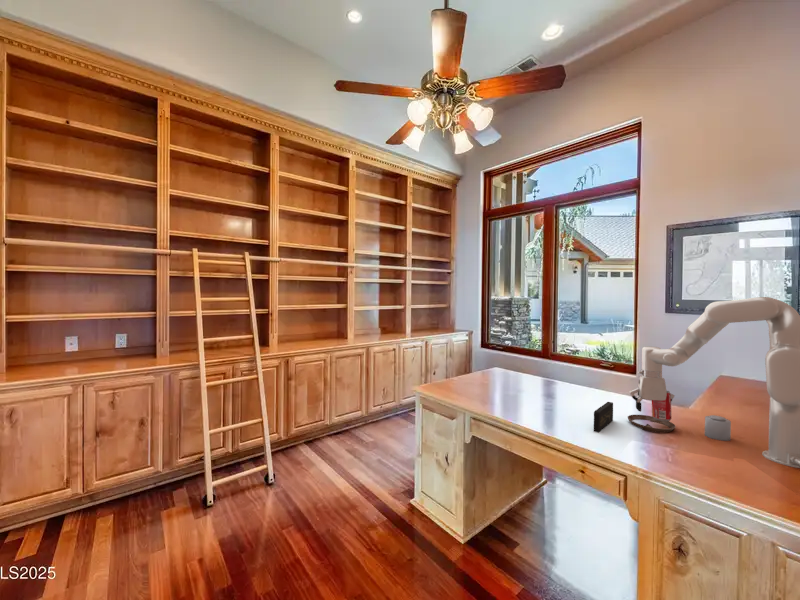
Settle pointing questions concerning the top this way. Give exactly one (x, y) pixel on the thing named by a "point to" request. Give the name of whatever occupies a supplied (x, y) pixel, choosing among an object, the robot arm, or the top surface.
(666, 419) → the soda can
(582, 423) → the top surface
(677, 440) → the top surface
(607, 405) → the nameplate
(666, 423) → the plant saucer
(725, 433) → the grey ceramic cup
